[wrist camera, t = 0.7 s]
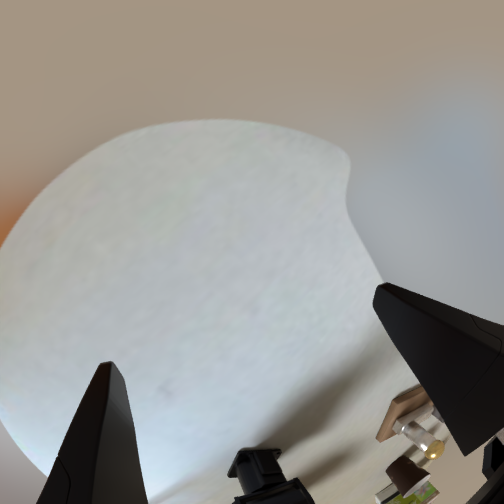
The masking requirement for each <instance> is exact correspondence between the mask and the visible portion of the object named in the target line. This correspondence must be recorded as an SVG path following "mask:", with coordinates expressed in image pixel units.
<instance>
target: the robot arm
mask: <svg viewBox="0 0 504 504" xmlns="http://www.w3.org/2000/svg"><path fill="white" fill-rule="evenodd" d="M373 308H374V310H375V312H376V314H377V315H378V317H379V319H380V321H381V322H382V324H383V326H384V328H385V330H386V331H387V333H388V335H389V337H390V338H391V340H392V342H393V343H394V345H395V346H396V348H397V349H398V351H399V352H400V354H401V355H402V356H403V358H404V359H405V361H406V362H407V364H408V365H409V367H410V368H411V370H412V371H413V373H414V374H415V376H416V377H417V379H418V381H419V382H420V384H421V385H422V387H423V388H424V390H425V391H426V393H427V395H428V396H429V398H430V399H431V401H432V403H433V404H434V406H435V407H436V409H437V411H438V412H439V414H440V416H441V417H442V419H443V421H444V422H445V424H446V426H447V428H448V429H449V431H450V433H451V434H452V436H453V438H454V440H455V441H456V443H457V445H458V447H459V448H460V450H461V452H462V453H463V455H464V456H467V455H468V454H470V453H471V452H473V451H474V450H475V449H477V448H478V447H480V446H481V445H482V444H484V443H485V442H486V441H488V440H489V439H490V438H491V437H493V436H494V435H495V436H494V437H493V438H492V439H491V440H490V442H489V443H488V444H487V445H486V446H485V447H484V459H483V468H482V473H483V474H484V475H485V477H486V478H487V480H488V481H487V482H486V483H485V484H484V485H483V486H482V487H481V488H480V489H479V491H478V492H476V494H475V495H474V496H473V497H472V498H471V499H470V500H469V501H468V502H467V503H466V504H504V325H500V324H497V323H494V322H491V321H488V320H485V319H483V318H480V317H477V316H475V315H472V314H469V313H467V312H464V311H462V310H459V309H457V308H454V307H451V306H449V305H446V304H443V303H441V302H439V301H436V300H433V299H431V298H428V297H425V296H423V295H420V294H417V293H415V292H412V291H409V290H407V289H404V288H401V287H399V286H396V285H393V284H391V283H388V282H386V283H383V284H380V285H378V286H377V288H376V291H375V295H374V299H373ZM281 453H282V452H281V450H280V449H274V450H258V451H240V452H238V453H237V455H236V457H235V460H234V462H233V464H232V466H231V468H230V470H229V472H228V474H227V476H228V477H229V478H236V477H238V479H239V482H240V484H241V487H242V489H243V492H244V494H245V495H243V496H240V497H238V496H237V497H234V499H235V501H234V502H233V503H232V504H315V502H314V500H313V499H312V497H311V495H310V494H309V492H308V491H307V490H306V488H305V487H304V486H303V484H302V483H301V482H300V480H299V479H298V478H297V477H296V478H293V479H292V480H290V481H287V480H286V478H285V476H284V474H283V473H282V469H281V467H280V465H279V463H278V462H277V459H278V458H279V456H280V455H281ZM36 504H148V500H147V496H146V492H145V487H144V482H143V477H142V472H141V466H140V461H139V455H138V448H137V441H136V434H135V427H134V422H133V418H132V414H131V409H130V405H129V400H128V395H127V390H126V385H125V381H124V378H123V376H122V374H121V373H120V371H119V370H118V368H117V367H116V365H115V364H114V362H112V361H109V362H103V363H100V364H99V366H98V368H97V370H96V372H95V374H94V376H93V378H92V380H91V382H90V384H89V386H88V388H87V390H86V392H85V394H84V396H83V398H82V400H81V402H80V404H79V407H78V409H77V411H76V413H75V415H74V417H73V420H72V422H71V424H70V426H69V429H68V431H67V433H66V436H65V438H64V440H63V443H62V445H61V447H60V450H59V452H58V456H57V457H56V460H55V462H54V465H53V467H52V470H51V472H50V475H49V477H48V479H47V482H46V484H45V486H44V488H43V490H42V492H41V494H40V496H39V499H38V501H37V503H36Z"/></svg>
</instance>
